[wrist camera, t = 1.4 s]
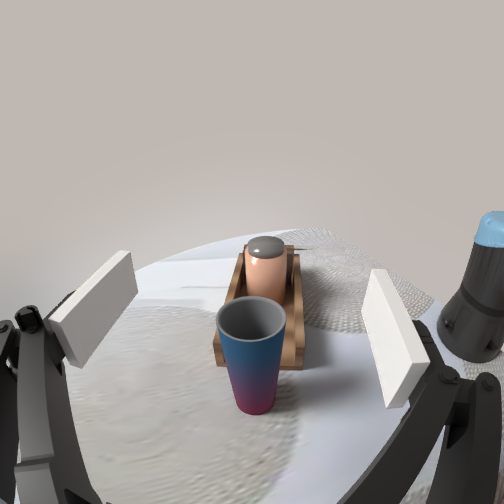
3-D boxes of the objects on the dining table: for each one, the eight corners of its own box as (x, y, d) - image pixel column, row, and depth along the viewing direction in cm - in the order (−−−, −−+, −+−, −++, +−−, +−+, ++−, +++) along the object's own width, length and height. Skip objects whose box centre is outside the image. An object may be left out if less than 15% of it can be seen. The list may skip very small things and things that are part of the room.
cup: (286, 386, 36) (293, 302, 29) (272, 426, 30) (275, 348, 23) (240, 375, 38) (232, 291, 31) (221, 412, 32) (203, 331, 25)
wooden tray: (301, 370, 38) (306, 336, 35) (216, 365, 40) (210, 332, 36) (298, 274, 61) (299, 245, 58) (240, 273, 63) (239, 244, 59)
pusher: (291, 285, 56) (292, 245, 52) (244, 284, 57) (242, 244, 53) (291, 282, 56) (292, 243, 52) (244, 281, 57) (242, 242, 53)
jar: (267, 283, 57) (267, 231, 52) (293, 299, 52) (295, 244, 47) (239, 297, 53) (236, 243, 48) (264, 315, 48) (263, 258, 43)
